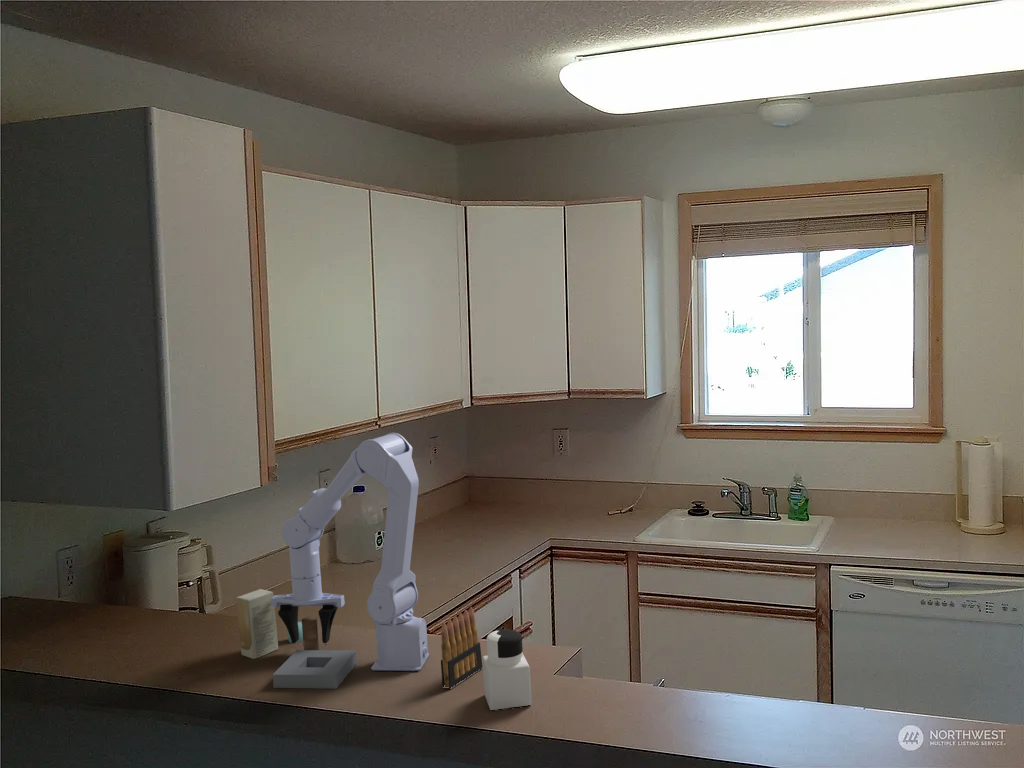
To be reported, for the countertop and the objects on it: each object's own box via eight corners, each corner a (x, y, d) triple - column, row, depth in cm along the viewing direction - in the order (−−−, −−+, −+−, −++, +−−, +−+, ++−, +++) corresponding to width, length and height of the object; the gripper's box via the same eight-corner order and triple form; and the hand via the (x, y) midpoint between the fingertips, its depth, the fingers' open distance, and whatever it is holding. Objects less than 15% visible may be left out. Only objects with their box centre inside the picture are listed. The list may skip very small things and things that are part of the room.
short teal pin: (305, 637, 200) (304, 621, 200) (300, 643, 197) (299, 626, 197) (291, 637, 200) (290, 621, 200) (286, 642, 197) (285, 626, 197)
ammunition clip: (474, 667, 180) (469, 604, 179) (483, 668, 179) (477, 605, 178) (442, 688, 170) (436, 623, 170) (450, 689, 169) (444, 624, 169)
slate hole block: (356, 663, 184) (355, 650, 184) (336, 688, 173) (335, 675, 172) (297, 662, 186) (296, 650, 186) (273, 687, 174) (272, 674, 174)
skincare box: (266, 645, 196) (261, 587, 195) (279, 649, 194) (274, 591, 193) (239, 655, 192) (235, 596, 190) (252, 660, 189) (248, 599, 188)
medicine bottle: (524, 689, 168) (520, 623, 167) (532, 706, 161) (528, 637, 160) (484, 694, 167) (480, 628, 166) (490, 711, 160) (486, 642, 159)
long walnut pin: (321, 650, 192) (319, 616, 192) (316, 655, 189) (313, 621, 189) (307, 650, 193) (304, 616, 192) (301, 655, 190) (299, 621, 189)
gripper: (347, 568, 192) (351, 634, 194) (279, 569, 195) (283, 633, 196) (336, 579, 185) (340, 647, 187) (265, 579, 188) (270, 646, 189)
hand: (310, 641), depth 191 cm, fingers open, 6 cm apart
